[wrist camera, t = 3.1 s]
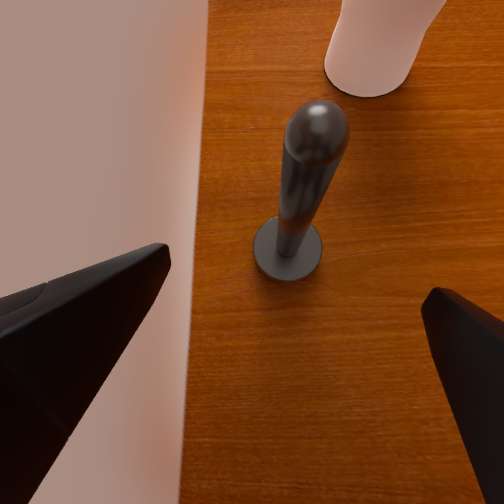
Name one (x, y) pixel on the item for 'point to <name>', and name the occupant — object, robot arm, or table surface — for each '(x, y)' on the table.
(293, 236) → the joystick
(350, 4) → the cup
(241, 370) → the table surface
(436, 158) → the table surface
